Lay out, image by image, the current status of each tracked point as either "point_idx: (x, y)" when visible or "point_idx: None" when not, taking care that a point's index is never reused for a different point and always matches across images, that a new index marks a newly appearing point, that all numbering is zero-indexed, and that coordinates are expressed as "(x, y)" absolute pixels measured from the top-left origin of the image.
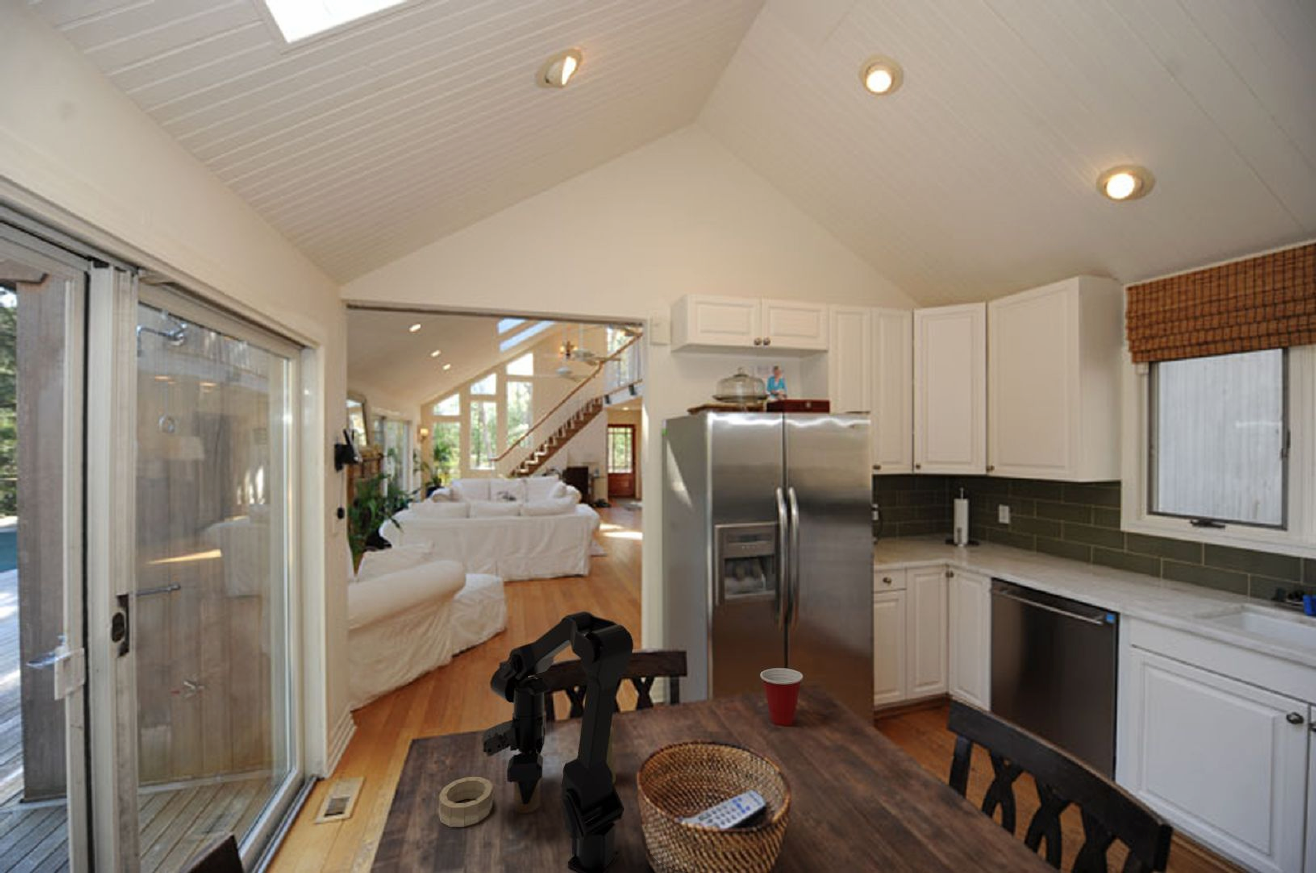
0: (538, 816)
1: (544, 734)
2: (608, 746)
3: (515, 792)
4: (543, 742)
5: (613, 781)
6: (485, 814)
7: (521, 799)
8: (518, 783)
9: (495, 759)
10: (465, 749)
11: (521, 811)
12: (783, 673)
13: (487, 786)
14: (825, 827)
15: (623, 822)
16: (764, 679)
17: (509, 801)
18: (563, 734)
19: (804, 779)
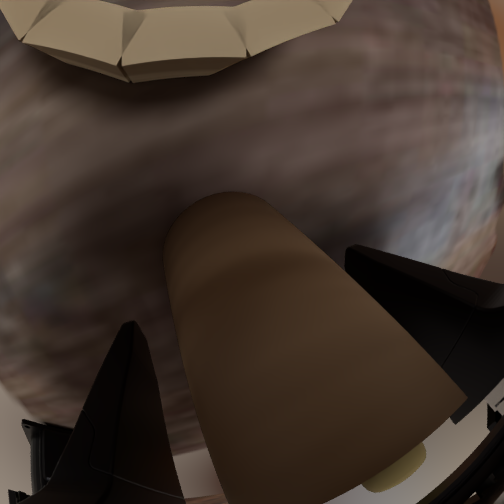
0: (153, 325)
1: (488, 416)
2: None
3: (197, 263)
4: (455, 423)
5: None
6: (105, 73)
7: (170, 292)
8: (56, 471)
9: (467, 71)
10: (480, 4)
11: (163, 256)
12: None
13: (261, 14)
14: (214, 498)
15: (183, 449)
16: None
17: (250, 158)
18: (485, 232)
19: None
